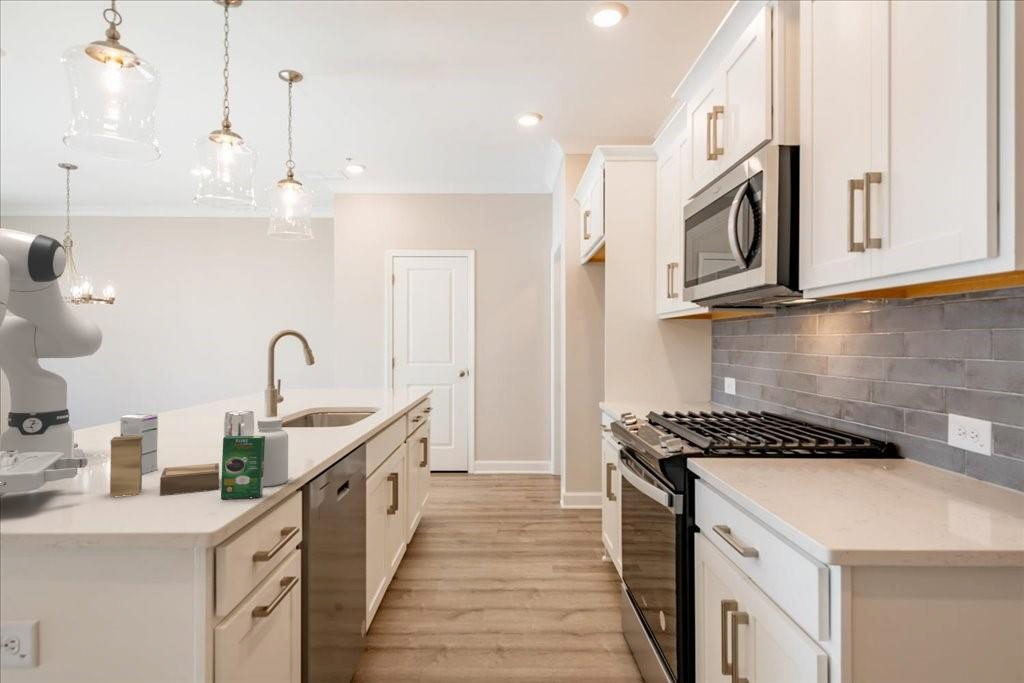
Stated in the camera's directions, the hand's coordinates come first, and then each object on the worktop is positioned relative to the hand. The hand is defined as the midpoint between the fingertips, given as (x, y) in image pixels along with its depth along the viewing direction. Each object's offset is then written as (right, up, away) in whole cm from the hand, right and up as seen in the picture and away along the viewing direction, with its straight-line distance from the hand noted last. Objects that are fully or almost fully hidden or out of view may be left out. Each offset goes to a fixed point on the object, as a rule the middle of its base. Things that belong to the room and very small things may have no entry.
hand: (82, 467), depth 110 cm
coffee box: (+33, -7, +2) cm, 33 cm away
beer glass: (+20, -7, +25) cm, 33 cm away
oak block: (+7, -7, +4) cm, 10 cm away
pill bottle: (+33, -7, +14) cm, 36 cm away
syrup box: (-4, -7, +22) cm, 23 cm away
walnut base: (+17, -7, +10) cm, 21 cm away
